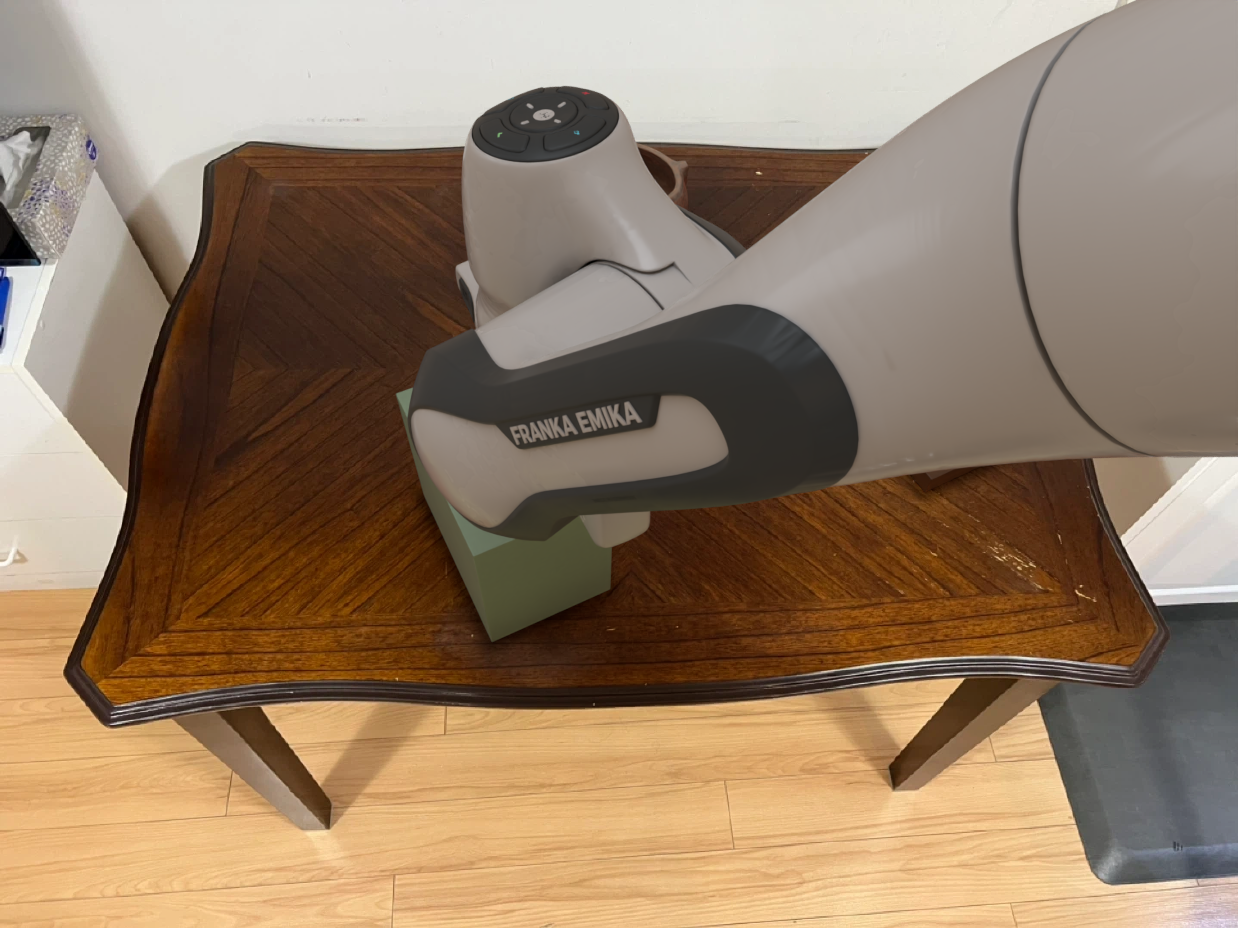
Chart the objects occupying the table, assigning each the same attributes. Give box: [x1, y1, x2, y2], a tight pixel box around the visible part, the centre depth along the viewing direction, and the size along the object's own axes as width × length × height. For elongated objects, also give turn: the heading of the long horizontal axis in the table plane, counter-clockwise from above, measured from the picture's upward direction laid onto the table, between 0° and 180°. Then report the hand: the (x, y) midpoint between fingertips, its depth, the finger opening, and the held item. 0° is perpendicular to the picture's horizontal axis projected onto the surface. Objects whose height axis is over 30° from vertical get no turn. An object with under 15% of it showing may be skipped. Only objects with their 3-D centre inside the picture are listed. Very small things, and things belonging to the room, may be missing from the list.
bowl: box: [636, 142, 690, 211], centre depth 101 cm, size 16×16×10 cm
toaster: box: [395, 387, 613, 643], centre depth 78 cm, size 16×11×15 cm
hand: (560, 468), depth 68 cm, fingers closed on toaster slider, 2 cm apart
